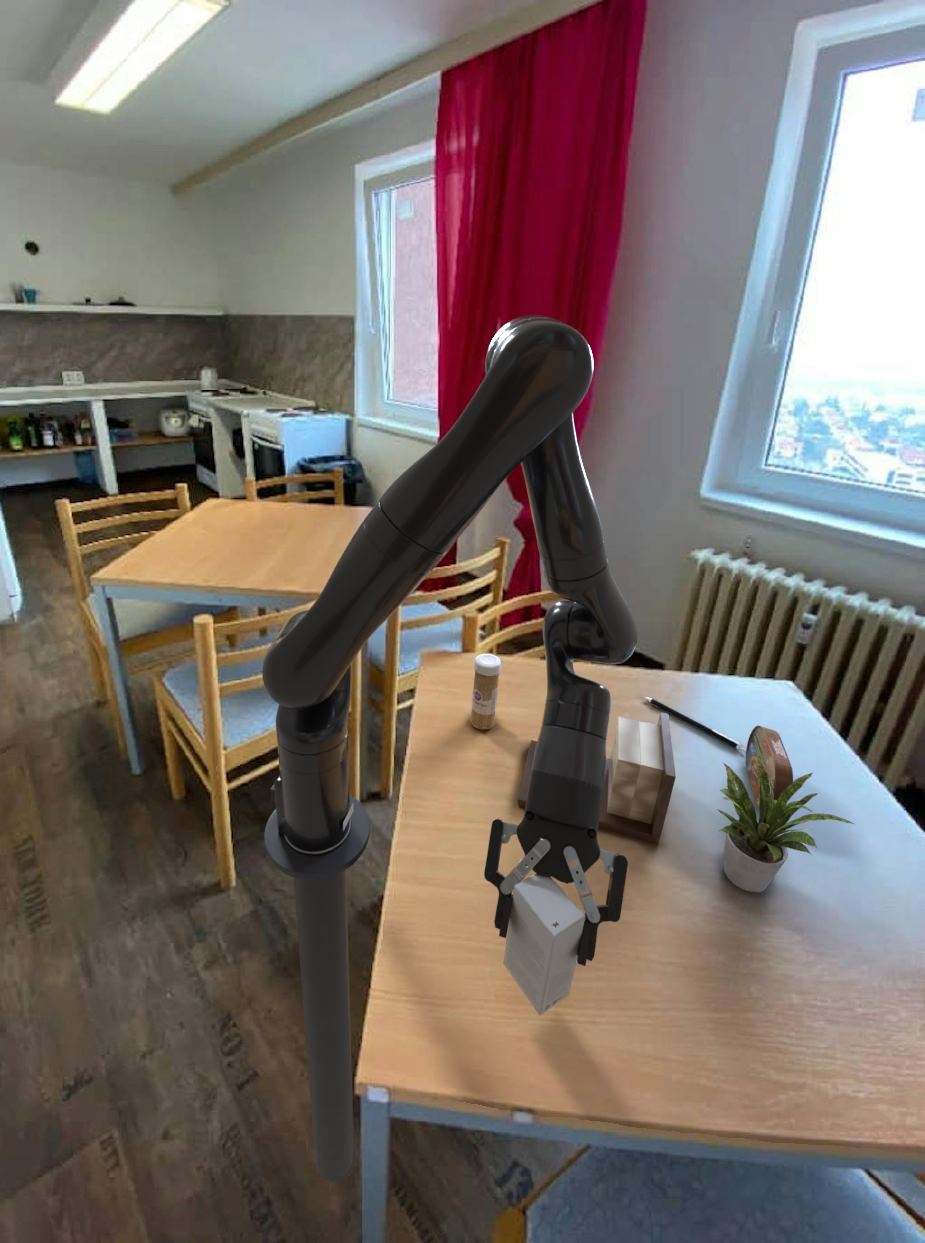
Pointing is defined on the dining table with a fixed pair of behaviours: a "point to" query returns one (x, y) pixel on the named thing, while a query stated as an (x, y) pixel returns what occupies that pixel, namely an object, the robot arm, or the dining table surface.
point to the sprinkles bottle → (485, 691)
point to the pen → (697, 724)
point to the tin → (768, 761)
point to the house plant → (763, 830)
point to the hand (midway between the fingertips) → (541, 949)
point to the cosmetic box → (543, 941)
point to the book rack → (631, 779)
